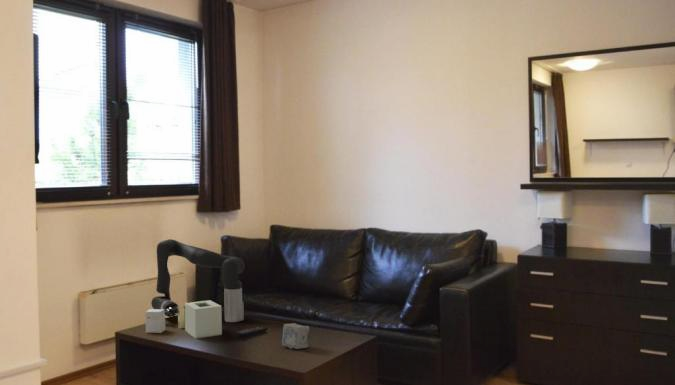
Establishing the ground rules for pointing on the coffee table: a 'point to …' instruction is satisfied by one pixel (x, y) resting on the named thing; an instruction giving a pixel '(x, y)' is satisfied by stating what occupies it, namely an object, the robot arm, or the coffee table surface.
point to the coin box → (203, 319)
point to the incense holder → (295, 336)
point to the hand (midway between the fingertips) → (178, 313)
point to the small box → (155, 320)
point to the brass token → (181, 317)
